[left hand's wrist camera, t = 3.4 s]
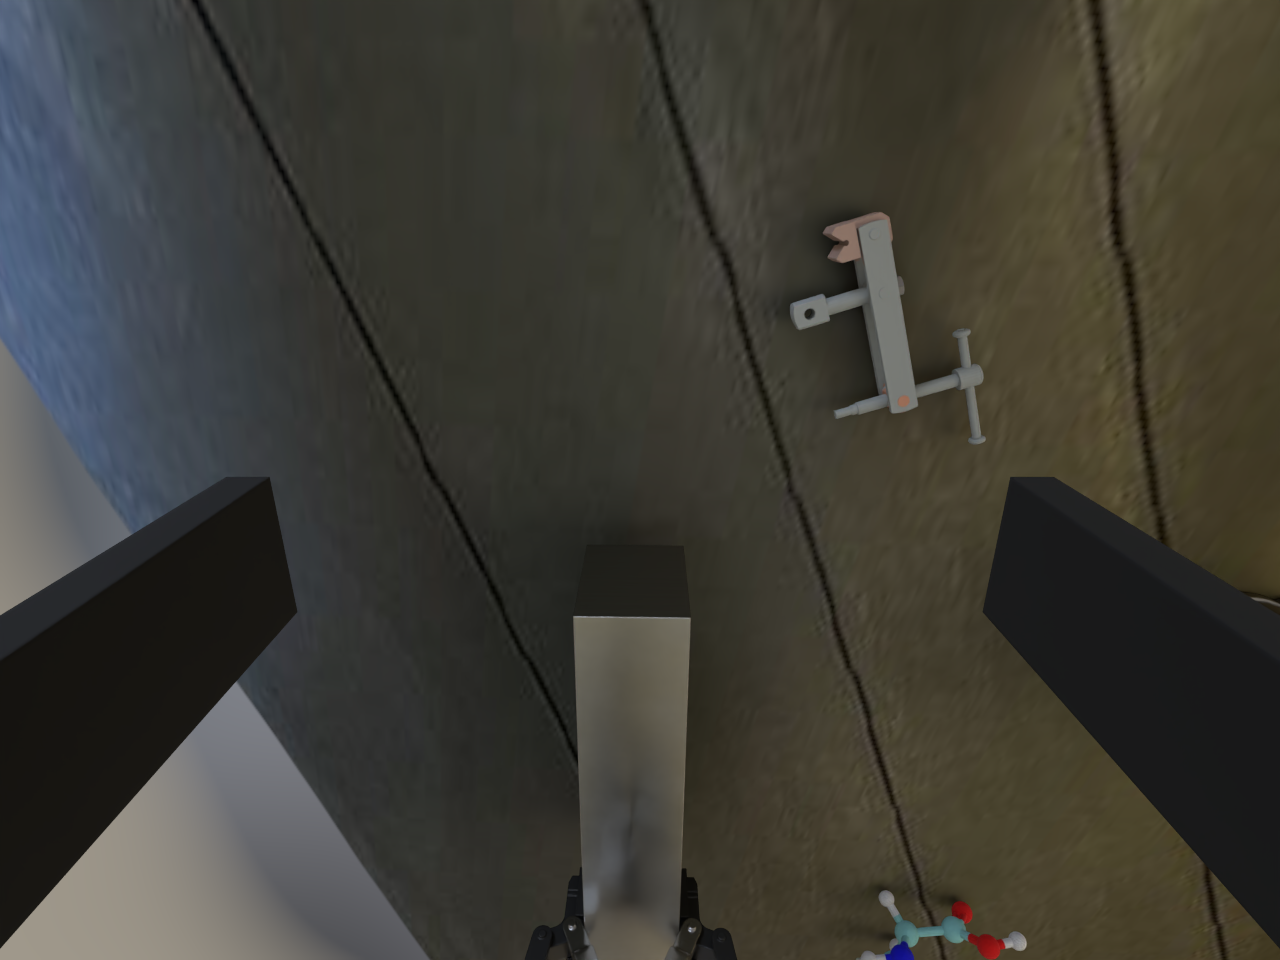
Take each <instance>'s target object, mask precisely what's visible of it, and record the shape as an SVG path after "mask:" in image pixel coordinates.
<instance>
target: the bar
mask: <svg viewBox="0 0 1280 960" xmlns="http://www.w3.org/2000/svg"><path fill="white" fill-rule="evenodd" d="M690 627H691V615H690V605H689V595H688V585H687V576H686V566H685V556H684V547H683V546H650V545H587V547H586V553H585V558H584V563H583V568H582V573H581V579H580V584H579V589H578V594H577V599H576V605H575V610H574V615H573V628H574V656H575V684H576V712H577V740H578V768H579V796H580V824H581V852H582V880H583V908H584V929H585V932H586V934H587V937H588V939H589V942H590V944H591V945H593V947H594V949H595V952H596V954H597V957H598V959H599V960H664V959H665V957H666V955H667V952H668V950H669V948H670V947H671V946H673V944H674V942H675V940H676V938H677V936H678V933H679V921H680V894H681V868H682V841H683V814H684V788H685V761H686V734H687V708H688V681H689V654H690Z"/></svg>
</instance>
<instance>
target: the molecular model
mask: <svg viewBox="0 0 1280 960" xmlns="http://www.w3.org/2000/svg"><path fill="white" fill-rule="evenodd" d="M879 900H880V903H881V904H882V905H883V906H885V907H887V908H888V909H889V911H890V913H891V915H892V916H893V918H894V920H895V921H896V923H897V924H896V927H895V936H896V938H897V939H892V940H891V941H890V944H889V946H890V950H891V951H887V952H885V954H881V955H875V954H874V953H872V952H871V951H865V952H863V954H862V956H861V958H856V959H855V960H914V956H913V954H912V952H911V950H910V949H909V948H908V947H913V946H914V945H916V943H917V942H918V939H919V937H926V936H938V935H944V936H945V937H946V938H947V939H948V940H949V941H950V942H953V943H960V942H962V941H963V940H964V939H965V940H967V941H969V942H970V943H972V944H974V945H976V946H977V948H978V950H979V952H980V953H981V955H982V956H984V957H985V958H987V959H995V958H997V957H998V956H999V954H1000V950H1001V949H1006V948H1011V947H1013V948H1014V949H1015V950H1018V951H1022V950H1024V949H1025V948H1026V945H1027V942H1026V939H1025V937H1024V936H1023V935H1022V934H1021V933H1019V932H1016V931H1015V932H1011V933H1010V935H1009V938H1004V939H999V940H996V939H995V938H994V937H992V936H991V935H988V934H983V935H981V936H980V937H977V936H975V935H973V934H971V933H969V932H967V931H966V928H965V926H964V924H965V923H968V922H970V920H971V919H972V910H971V909H970V907H969V906H968V905H967V904H966V903H965V902H962V901H958V902H955V903H954V904H953V906H952V914H953V915H952V916H948V917H946V918H944V920H943V921H942V925H941V926H935V927H923V928H916V927H915V925H914V924H913V923H911V922H910V921H907V920H903V919H902V917H901V916H900V914H899V912H898V910H897V908H896V907H895V905H894V896H893V894H892V893H891V892H889V891H888V890H883V891H881V893H880V894H879Z"/></svg>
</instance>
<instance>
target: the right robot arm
mask: <svg viewBox="0 0 1280 960" xmlns="http://www.w3.org/2000/svg"><path fill="white" fill-rule="evenodd" d="M1244 594H1246V595H1247V596H1249V597H1250V598H1252V599H1254V600H1255V601H1257V602H1259V603H1260V604H1262V605H1264V606H1265V607H1267V608H1268V609H1270V610H1272V611H1273V612H1275V613H1277V614H1278V615H1280V599H1276V600H1272V599H1270V598H1268V597H1266V596H1263V595H1259V594H1254V593H1244ZM565 958H566V960H599V959H598V957H597V954H596V952H595V949H594V947H593V945H591V944H590V942H589V939H588V937H587V934H586V932H585V929H584V908H583V880H582V867H580V875H579V876H572V878H571V879H570V881H569V886H568V894H567V902H566V910H565V917H564V920H563V921H562V923H561V924H559V925H558V926H556V927H553V928H549V927H548V926H545V925H542V926H539V927H537V928H536V929H535V930H534V932H533V935H532V938H531V941H530V944H529V947H528V951H527V954H526V957H525V960H562V959H565ZM664 960H737V957H736V953H735V949H734V946H733V942H732V938H731V935H730V933H729V932H728V931H727V930H726V929H724V928H717V929H715V930H714V931H713V930H710V929H707V928H706V927H704V926H703V925H702V923H701V922H700V918H699V904H698V890H697V883H696V881H695V879H694V877H687V873H686V869H685V868H681V894H680V921H679V933H678V936H677V938H676V940H675V942H674V944H673V946H671V947H670V948H669V950H668V952H667V955H666V957H665V959H664Z"/></svg>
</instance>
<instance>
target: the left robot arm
mask: <svg viewBox="0 0 1280 960" xmlns="http://www.w3.org/2000/svg"><path fill="white" fill-rule="evenodd" d="M296 613H297V608H296V603H295V598H294V593H293V589H292V584H291V579H290V574H289V569H288V564H287V560H286V555H285V550H284V545H283V540H282V535H281V530H280V526H279V521H278V516H277V511H276V506H275V501H274V497H273V492H272V487H271V482H270V477H225V478H224V479H222V480H221V481H219V482H217V483H216V484H214V485H212V486H211V487H209V488H208V489H206V490H204V491H203V492H201V493H199V494H198V495H196V496H194V497H193V498H191V499H190V500H188V501H186V502H185V503H183V504H181V505H180V506H178V507H177V508H175V509H173V510H172V511H170V512H168V513H167V514H165V515H163V516H162V517H160V518H159V519H157V520H155V521H154V522H152V523H150V524H149V525H147V526H145V527H144V528H142V529H141V530H139V531H137V532H136V533H134V534H132V535H131V536H129V537H128V538H126V539H124V540H123V541H121V542H119V543H118V544H116V545H114V546H113V547H111V548H110V549H108V550H106V551H105V552H103V553H101V554H100V555H98V556H96V557H95V558H93V559H92V560H90V561H88V562H87V563H85V564H83V565H82V566H80V567H79V568H77V569H75V570H74V571H72V572H70V573H69V574H67V575H66V576H64V577H62V578H61V579H59V580H57V581H56V582H54V583H52V584H51V585H49V586H48V587H46V588H44V589H43V590H41V591H39V592H38V593H36V594H34V595H33V596H31V597H30V598H28V599H26V600H25V601H23V602H21V603H20V604H18V605H17V606H15V607H13V608H12V609H10V610H8V611H7V612H5V613H3V614H2V615H0V948H1V947H2V946H3V945H4V944H5V942H6V941H7V940H8V939H9V938H10V937H11V936H12V935H13V933H14V932H15V931H16V930H17V929H18V928H19V927H20V926H21V924H22V923H23V922H24V921H25V920H26V919H27V918H28V916H29V915H30V914H31V913H32V912H33V911H34V910H35V909H36V907H37V906H38V905H39V904H40V903H41V902H42V901H43V899H44V898H45V897H46V896H47V895H48V894H49V893H50V892H51V890H52V889H53V888H54V887H55V886H56V885H57V884H58V883H59V881H60V880H61V879H62V878H63V877H64V876H65V875H66V873H67V872H68V871H69V870H70V869H71V868H72V867H73V865H74V864H75V863H76V862H77V861H78V860H79V859H80V858H81V856H82V855H83V854H84V853H85V852H86V851H87V850H88V849H89V847H90V846H91V845H92V844H93V843H94V842H95V841H96V839H97V838H98V837H99V836H100V835H101V834H102V833H103V832H104V830H105V829H106V828H107V827H108V826H109V825H110V824H111V822H112V821H113V820H114V819H115V818H116V817H117V816H118V814H119V813H120V812H121V811H122V810H123V809H124V808H125V807H126V805H127V804H128V803H129V802H130V801H131V800H132V799H133V797H134V796H135V795H136V794H137V793H138V792H139V791H140V790H141V788H142V787H143V786H144V785H145V784H146V783H147V782H148V780H149V779H150V778H151V777H152V776H153V775H154V774H155V773H156V771H157V770H158V769H159V768H160V767H161V766H162V765H163V763H164V762H165V761H166V760H167V759H168V758H169V757H170V756H171V754H172V753H173V752H174V751H175V750H176V749H177V748H178V747H179V745H180V744H181V743H182V742H183V741H184V740H185V739H186V737H187V736H188V735H189V734H190V733H191V732H192V731H193V730H194V728H195V727H196V726H197V725H198V724H199V723H200V722H201V720H202V719H203V718H204V717H205V716H206V715H207V714H208V712H209V711H210V710H211V709H212V708H213V707H214V706H215V705H216V704H217V702H218V701H219V700H220V699H221V698H222V697H223V696H224V694H225V693H226V692H227V691H228V690H229V689H230V688H231V687H232V685H233V684H234V683H235V682H236V681H237V680H238V679H239V677H240V676H241V675H242V674H243V673H244V672H245V671H246V670H247V668H248V667H249V666H250V665H251V664H252V663H253V662H254V660H255V659H256V658H257V657H258V656H259V655H260V654H261V653H262V651H263V650H264V649H265V648H266V647H267V646H268V645H269V643H270V642H271V641H272V640H273V639H274V638H275V637H276V636H277V634H278V633H279V632H280V631H281V630H282V629H283V628H284V626H285V625H286V624H287V623H288V622H289V621H290V620H291V619H292V617H293V616H294V615H295V614H296ZM983 613H984V614H985V615H986V616H987V617H988V619H989V620H990V621H991V622H992V623H993V624H994V625H995V626H996V628H997V629H998V630H999V631H1000V632H1001V633H1002V634H1003V636H1004V637H1005V638H1006V639H1007V640H1008V641H1009V642H1010V643H1011V645H1012V646H1013V647H1014V648H1015V649H1016V650H1017V651H1018V653H1019V654H1020V655H1021V656H1022V657H1023V658H1024V659H1025V660H1026V662H1027V663H1028V664H1029V665H1030V666H1031V667H1032V668H1033V670H1034V671H1035V672H1036V673H1037V674H1038V675H1039V676H1040V677H1041V679H1042V680H1043V681H1044V682H1045V683H1046V684H1047V685H1048V687H1049V688H1050V689H1051V690H1052V691H1053V692H1054V693H1055V694H1056V696H1057V697H1058V698H1059V699H1060V700H1061V701H1062V702H1063V704H1064V705H1065V706H1066V707H1067V708H1068V709H1069V710H1070V711H1071V713H1072V714H1073V715H1074V716H1075V717H1076V718H1077V719H1078V720H1079V722H1080V723H1081V724H1082V725H1083V726H1084V727H1085V728H1086V730H1087V731H1088V732H1089V733H1090V734H1091V735H1092V736H1093V737H1094V739H1095V740H1096V741H1097V742H1098V743H1099V744H1100V745H1101V747H1102V748H1103V749H1104V750H1105V751H1106V752H1107V753H1108V754H1109V756H1110V757H1111V758H1112V759H1113V760H1114V761H1115V762H1116V764H1117V765H1118V766H1119V767H1120V768H1121V769H1122V770H1123V771H1124V773H1125V774H1126V775H1127V776H1128V777H1129V778H1130V779H1131V781H1132V782H1133V783H1134V784H1135V785H1136V786H1137V787H1138V788H1139V790H1140V791H1141V792H1142V793H1143V794H1144V795H1145V796H1146V798H1147V799H1148V800H1149V801H1150V802H1151V803H1152V804H1153V805H1154V807H1155V808H1156V809H1157V810H1158V811H1159V812H1160V813H1161V815H1162V816H1163V817H1164V818H1165V819H1166V820H1167V821H1168V822H1169V824H1170V825H1171V826H1172V827H1173V828H1174V829H1175V830H1176V832H1177V833H1178V834H1179V835H1180V836H1181V837H1182V838H1183V839H1184V841H1185V842H1186V843H1187V844H1188V845H1189V846H1190V847H1191V849H1192V850H1193V851H1194V852H1195V853H1196V854H1197V855H1198V856H1199V858H1200V859H1201V860H1202V861H1203V862H1204V863H1205V864H1206V866H1207V867H1208V868H1209V869H1210V870H1211V871H1212V872H1213V873H1214V875H1215V876H1216V877H1217V878H1218V879H1219V880H1220V881H1221V883H1222V884H1223V885H1224V886H1225V887H1226V888H1227V889H1228V890H1229V892H1230V893H1231V894H1232V895H1233V896H1234V897H1235V898H1236V900H1237V901H1238V902H1239V903H1240V904H1241V905H1242V906H1243V907H1244V909H1245V910H1246V911H1247V912H1248V913H1249V914H1250V915H1251V916H1252V918H1253V919H1254V920H1255V921H1256V922H1257V923H1258V924H1259V926H1260V927H1261V928H1262V929H1263V930H1264V931H1265V932H1266V933H1267V935H1268V936H1269V937H1270V938H1271V939H1272V940H1273V941H1274V943H1275V944H1276V945H1277V946H1278V947H1279V948H1280V615H1278V614H1277V613H1275V612H1273V611H1272V610H1270V609H1268V608H1267V607H1265V606H1264V605H1262V604H1260V603H1259V602H1257V601H1255V600H1254V599H1252V598H1250V597H1249V596H1247V595H1246V594H1244V593H1242V592H1241V591H1239V590H1237V589H1236V588H1234V587H1233V586H1231V585H1229V584H1228V583H1226V582H1224V581H1223V580H1221V579H1219V578H1218V577H1216V576H1215V575H1213V574H1211V573H1210V572H1208V571H1206V570H1205V569H1203V568H1201V567H1200V566H1198V565H1197V564H1195V563H1193V562H1192V561H1190V560H1188V559H1187V558H1185V557H1184V556H1182V555H1180V554H1179V553H1177V552H1175V551H1174V550H1172V549H1170V548H1169V547H1167V546H1166V545H1164V544H1162V543H1161V542H1159V541H1157V540H1156V539H1154V538H1152V537H1151V536H1149V535H1148V534H1146V533H1144V532H1143V531H1141V530H1139V529H1138V528H1136V527H1135V526H1133V525H1131V524H1130V523H1128V522H1126V521H1125V520H1123V519H1121V518H1120V517H1118V516H1117V515H1115V514H1113V513H1112V512H1110V511H1108V510H1107V509H1105V508H1103V507H1102V506H1100V505H1099V504H1097V503H1095V502H1094V501H1092V500H1090V499H1089V498H1087V497H1086V496H1084V495H1082V494H1081V493H1079V492H1077V491H1076V490H1074V489H1072V488H1071V487H1069V486H1068V485H1066V484H1064V483H1063V482H1061V481H1059V480H1058V479H1056V478H1055V477H1010V482H1009V487H1008V492H1007V497H1006V501H1005V506H1004V511H1003V516H1002V521H1001V526H1000V530H999V535H998V540H997V545H996V550H995V555H994V560H993V564H992V569H991V574H990V579H989V584H988V589H987V593H986V598H985V603H984V608H983Z"/></svg>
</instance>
